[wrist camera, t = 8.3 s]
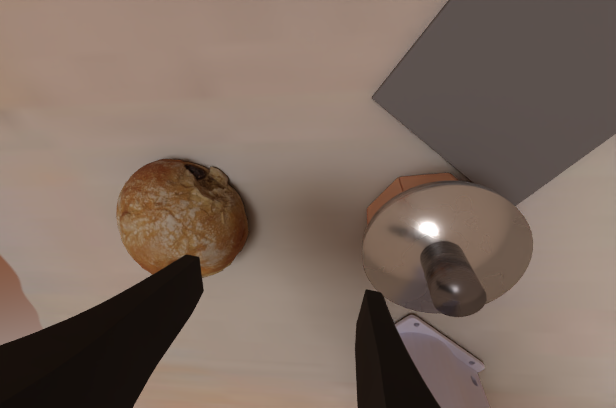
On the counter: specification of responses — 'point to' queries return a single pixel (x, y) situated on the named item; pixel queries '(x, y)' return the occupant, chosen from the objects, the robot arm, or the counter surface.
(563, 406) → the counter surface
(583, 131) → the plate
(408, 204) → the lid
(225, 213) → the bread roll
